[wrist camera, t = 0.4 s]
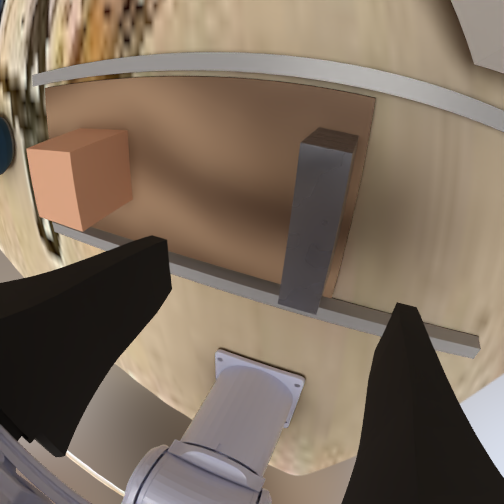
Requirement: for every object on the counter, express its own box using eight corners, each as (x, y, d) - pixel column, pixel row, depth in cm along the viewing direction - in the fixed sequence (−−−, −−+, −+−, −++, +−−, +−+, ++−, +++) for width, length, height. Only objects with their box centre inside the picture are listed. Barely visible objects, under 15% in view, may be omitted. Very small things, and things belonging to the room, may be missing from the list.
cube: (132, 199, 22) (82, 231, 18) (86, 189, 23) (39, 216, 19) (127, 130, 19) (69, 152, 15) (79, 128, 20) (26, 148, 16)
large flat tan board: (332, 293, 20) (317, 344, 16) (66, 215, 26) (30, 238, 23) (375, 98, 13) (375, 104, 10) (49, 87, 20) (5, 99, 16)
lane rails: (471, 346, 18) (473, 358, 17) (63, 225, 28) (54, 231, 27) (563, 141, 10) (573, 147, 9) (43, 72, 19) (32, 75, 18)
